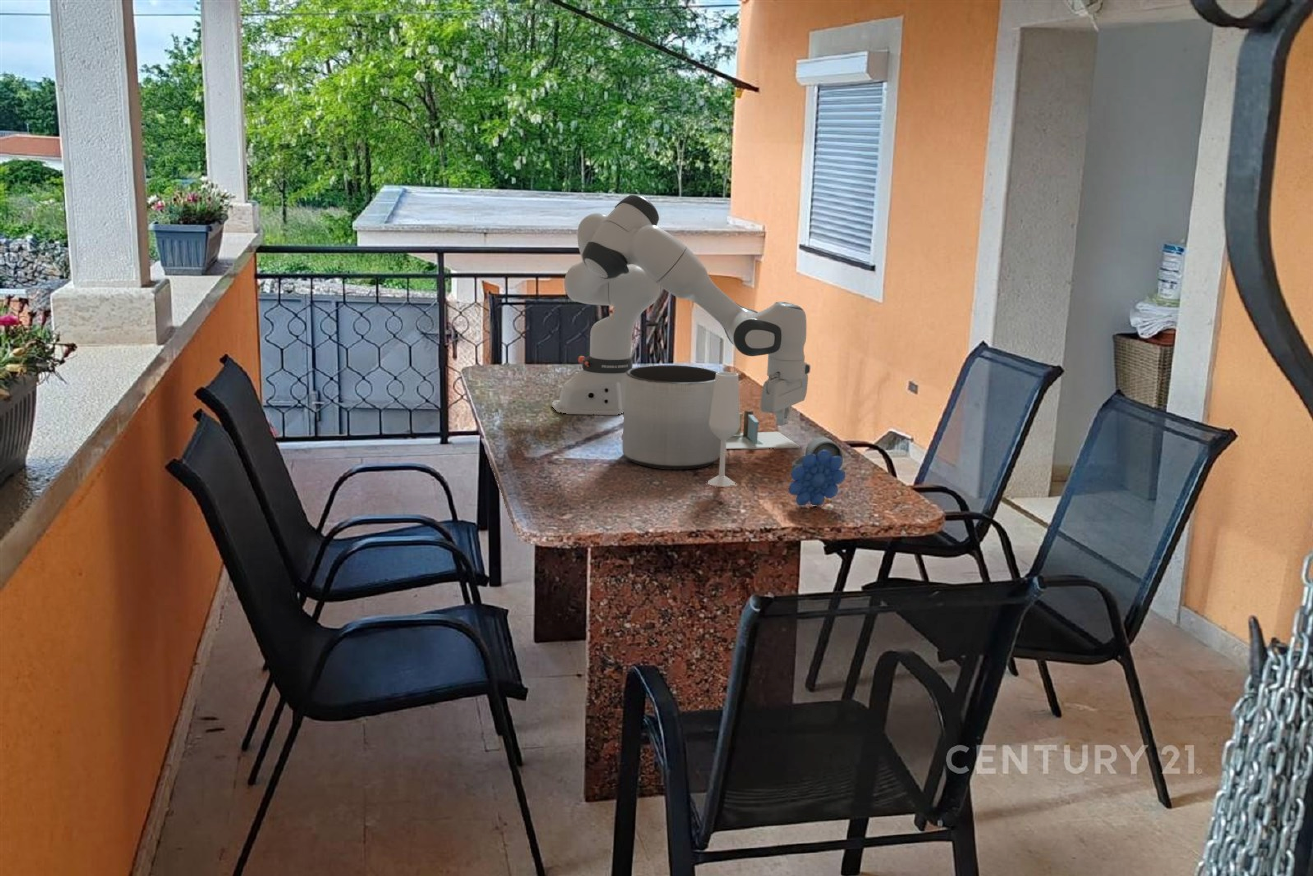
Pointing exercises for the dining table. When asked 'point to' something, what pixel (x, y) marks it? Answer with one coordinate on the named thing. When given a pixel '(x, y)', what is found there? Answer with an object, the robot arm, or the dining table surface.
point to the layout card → (761, 441)
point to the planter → (669, 417)
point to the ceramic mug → (820, 449)
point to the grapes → (816, 478)
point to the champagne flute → (724, 417)
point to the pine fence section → (745, 430)
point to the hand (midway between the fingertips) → (781, 424)
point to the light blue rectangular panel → (753, 428)
